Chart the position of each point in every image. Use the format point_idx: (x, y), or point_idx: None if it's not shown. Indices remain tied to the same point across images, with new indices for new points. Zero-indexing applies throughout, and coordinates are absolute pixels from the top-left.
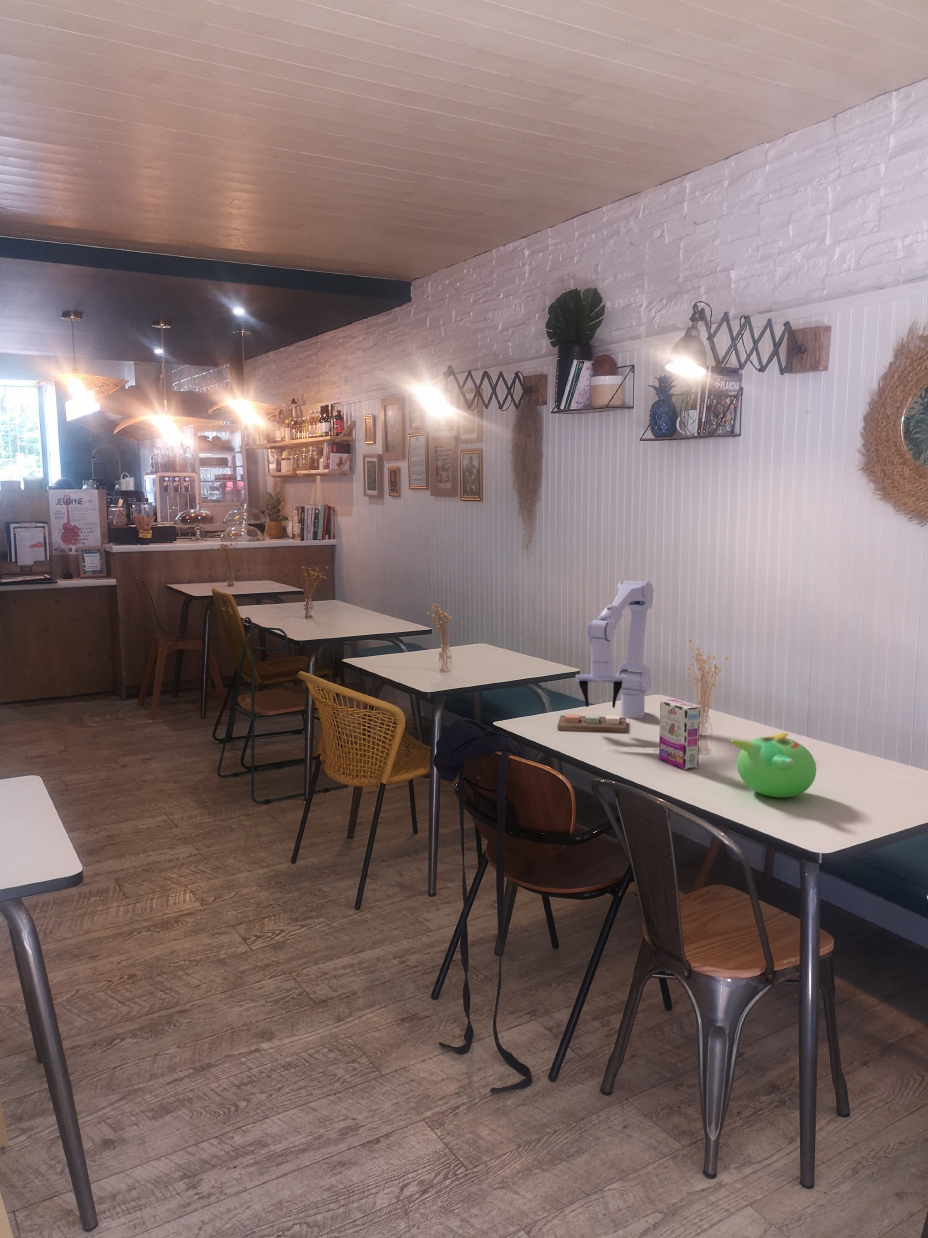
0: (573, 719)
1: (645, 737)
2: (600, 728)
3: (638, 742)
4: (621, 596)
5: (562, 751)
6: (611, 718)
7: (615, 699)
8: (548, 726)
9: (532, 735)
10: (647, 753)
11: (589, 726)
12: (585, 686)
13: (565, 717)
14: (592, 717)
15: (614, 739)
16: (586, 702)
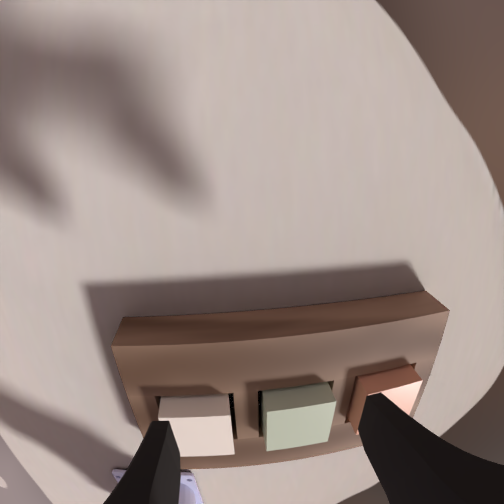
0: (386, 383)
1: (50, 332)
2: (248, 334)
3: (54, 249)
4: None
5: (403, 34)
6: (199, 420)
7: (131, 471)
8: (430, 381)
9: (493, 263)
10: (8, 77)
11: (311, 333)
12: (497, 500)
13: (421, 379)
14: (300, 415)
15: (169, 279)
16: (397, 411)
